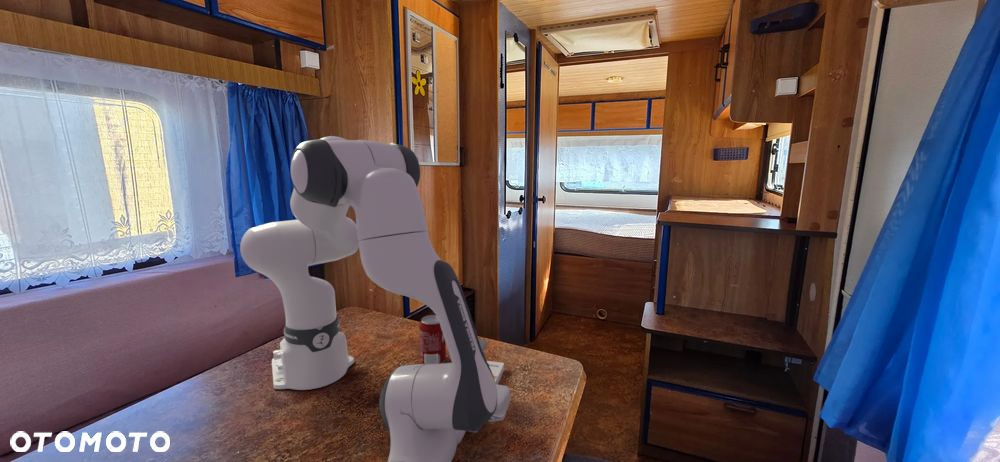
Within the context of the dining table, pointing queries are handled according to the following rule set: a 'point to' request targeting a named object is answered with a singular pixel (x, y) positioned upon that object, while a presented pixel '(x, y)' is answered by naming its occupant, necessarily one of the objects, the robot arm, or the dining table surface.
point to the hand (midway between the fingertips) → (470, 374)
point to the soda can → (431, 341)
